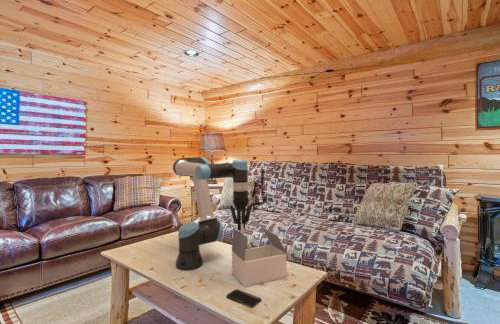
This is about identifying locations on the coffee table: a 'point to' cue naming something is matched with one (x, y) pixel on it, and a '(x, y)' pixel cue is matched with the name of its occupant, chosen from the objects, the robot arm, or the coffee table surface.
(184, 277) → the coffee table surface
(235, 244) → the flap
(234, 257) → the carton
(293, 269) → the coffee table surface
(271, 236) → the flap
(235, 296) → the phone
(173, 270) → the coffee table surface
